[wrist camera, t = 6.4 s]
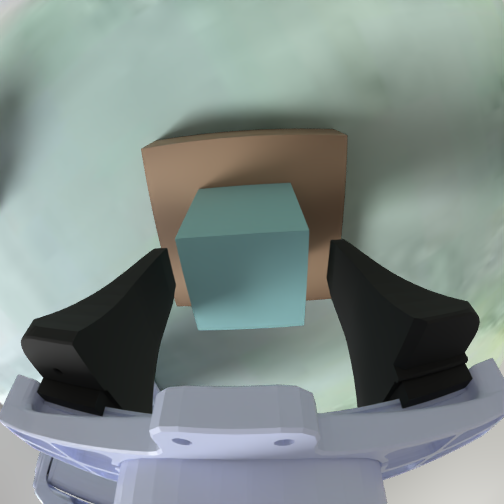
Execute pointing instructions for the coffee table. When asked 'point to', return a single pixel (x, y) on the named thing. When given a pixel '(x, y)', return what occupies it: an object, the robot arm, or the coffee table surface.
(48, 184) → the coffee table surface
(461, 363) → the robot arm
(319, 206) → the walnut slab
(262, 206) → the teal block
